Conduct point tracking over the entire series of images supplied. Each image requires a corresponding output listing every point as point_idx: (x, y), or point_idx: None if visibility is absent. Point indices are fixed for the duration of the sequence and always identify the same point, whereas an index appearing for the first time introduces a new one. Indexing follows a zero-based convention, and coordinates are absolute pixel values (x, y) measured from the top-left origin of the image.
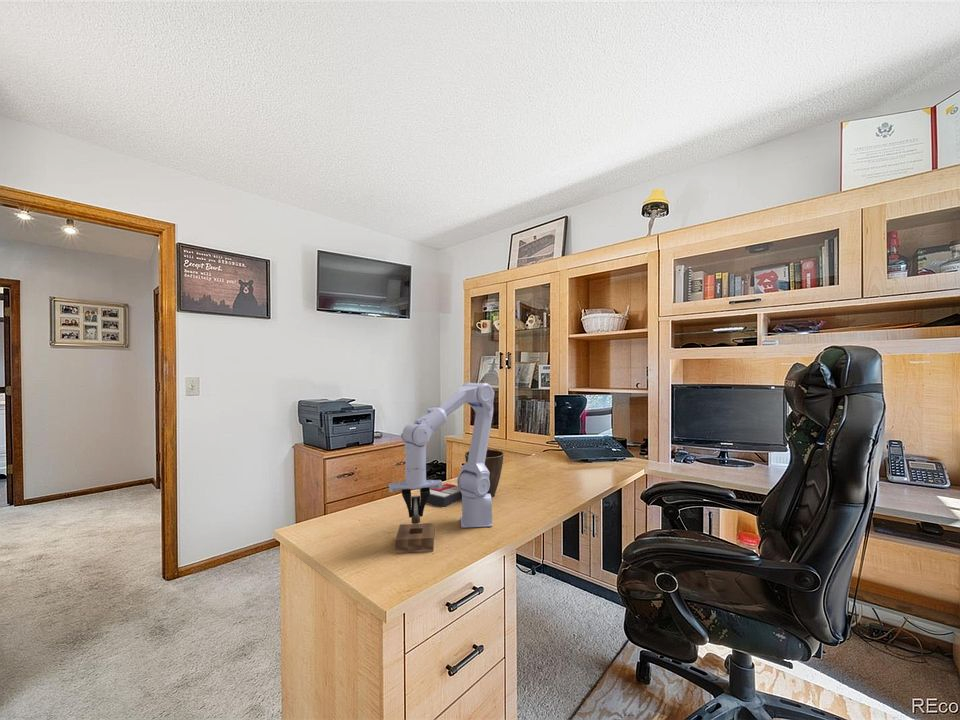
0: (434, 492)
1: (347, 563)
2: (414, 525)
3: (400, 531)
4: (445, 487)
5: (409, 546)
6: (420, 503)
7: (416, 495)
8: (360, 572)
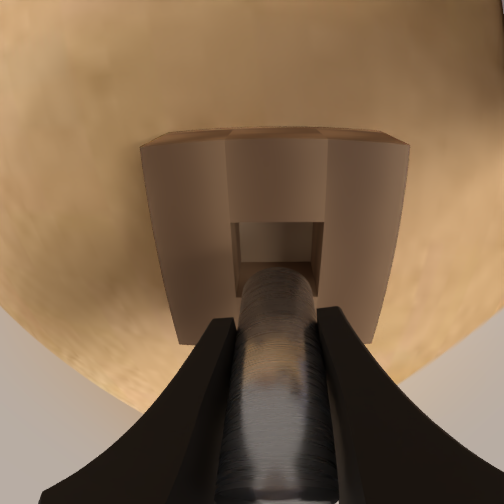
0: None
1: (70, 337)
2: (256, 169)
3: (175, 261)
4: None
5: None
6: (338, 404)
7: (287, 486)
8: (130, 381)
